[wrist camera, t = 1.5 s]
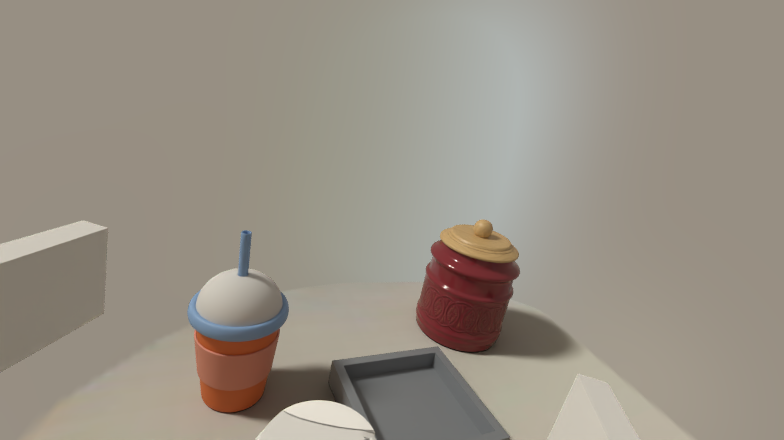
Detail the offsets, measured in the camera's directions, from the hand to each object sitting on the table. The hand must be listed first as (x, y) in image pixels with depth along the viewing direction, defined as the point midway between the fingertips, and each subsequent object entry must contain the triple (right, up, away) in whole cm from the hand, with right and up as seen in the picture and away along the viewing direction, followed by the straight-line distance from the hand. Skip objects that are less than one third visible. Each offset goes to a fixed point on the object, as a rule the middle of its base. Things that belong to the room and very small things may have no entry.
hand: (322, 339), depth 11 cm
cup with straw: (-15, -15, +31) cm, 38 cm away
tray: (+4, -18, +32) cm, 37 cm away
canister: (+12, -13, +51) cm, 54 cm away
